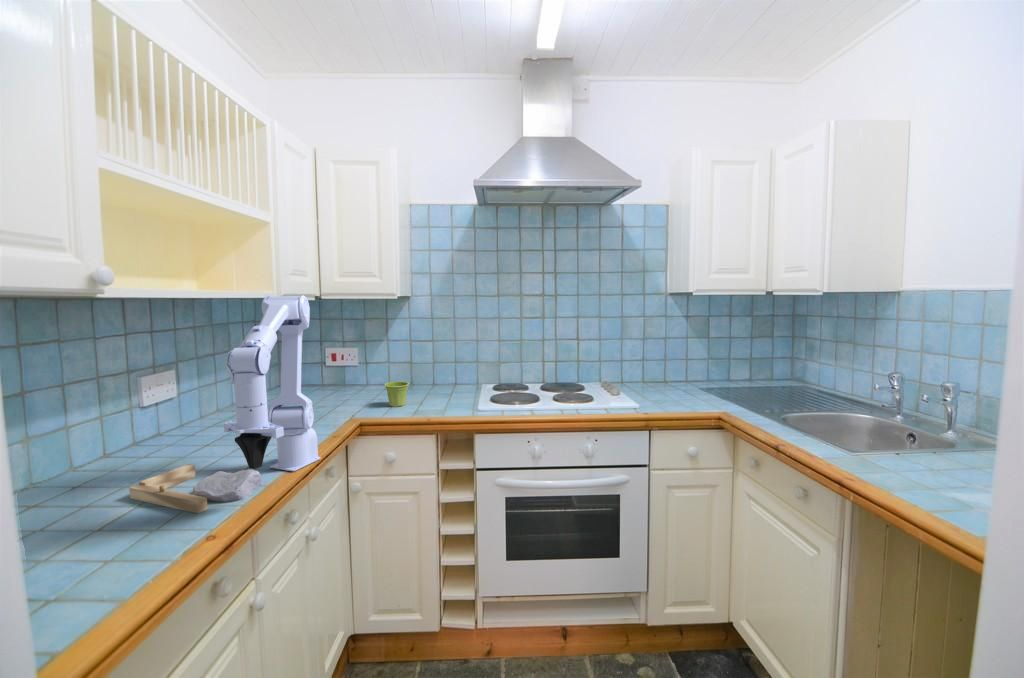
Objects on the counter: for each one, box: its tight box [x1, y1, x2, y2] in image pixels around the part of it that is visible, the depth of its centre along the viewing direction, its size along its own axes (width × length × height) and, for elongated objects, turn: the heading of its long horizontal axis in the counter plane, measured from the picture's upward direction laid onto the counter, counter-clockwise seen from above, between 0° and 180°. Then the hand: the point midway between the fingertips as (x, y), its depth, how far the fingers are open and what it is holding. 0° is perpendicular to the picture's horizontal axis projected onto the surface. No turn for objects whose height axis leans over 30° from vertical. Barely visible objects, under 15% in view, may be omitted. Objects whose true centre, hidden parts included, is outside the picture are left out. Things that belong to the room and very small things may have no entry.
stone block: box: [192, 468, 262, 503], centre depth 101 cm, size 12×5×10 cm
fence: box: [128, 463, 208, 514], centre depth 101 cm, size 13×21×4 cm, turn 70°
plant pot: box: [384, 381, 410, 408], centre depth 179 cm, size 9×9×9 cm
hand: (255, 467), depth 95 cm, fingers closed
